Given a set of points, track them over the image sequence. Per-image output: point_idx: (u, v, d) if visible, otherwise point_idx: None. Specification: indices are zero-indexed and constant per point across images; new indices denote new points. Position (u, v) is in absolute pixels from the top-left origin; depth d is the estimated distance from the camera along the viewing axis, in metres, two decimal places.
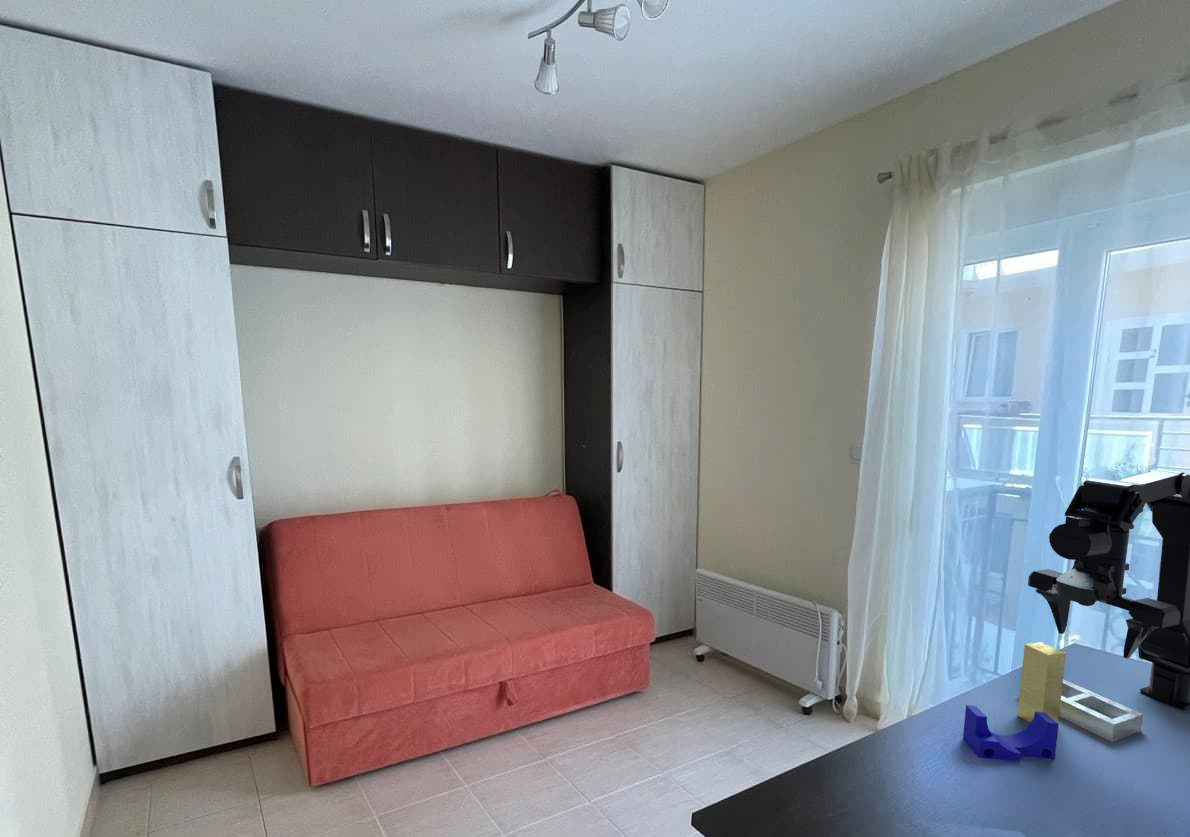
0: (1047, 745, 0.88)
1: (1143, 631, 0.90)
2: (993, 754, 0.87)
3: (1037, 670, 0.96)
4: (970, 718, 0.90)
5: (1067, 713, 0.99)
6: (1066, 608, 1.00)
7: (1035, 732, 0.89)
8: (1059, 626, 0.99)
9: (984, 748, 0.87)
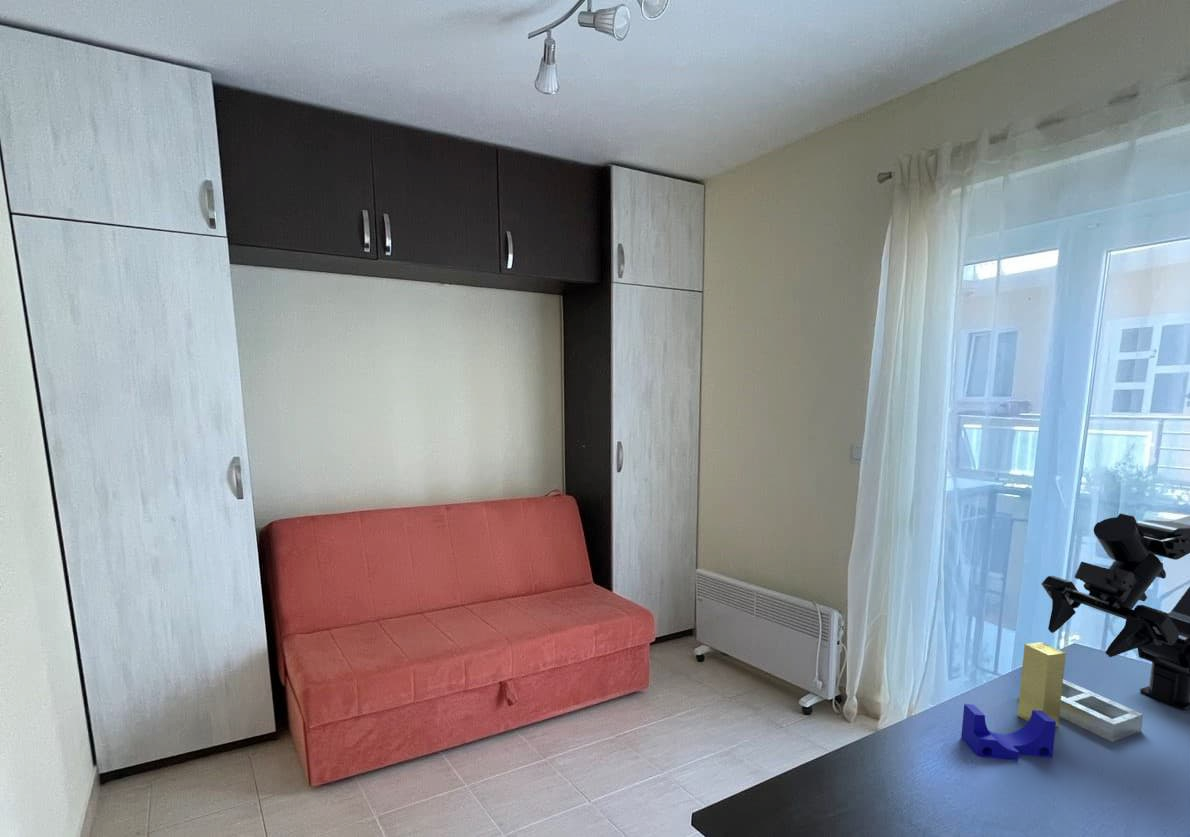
0: (1045, 743, 0.88)
1: (1135, 640, 0.95)
2: (991, 753, 0.87)
3: (1037, 670, 0.96)
4: (968, 717, 0.90)
5: (1067, 713, 0.99)
6: (1065, 617, 1.05)
7: (1032, 730, 0.89)
8: (1052, 623, 1.04)
9: (982, 747, 0.87)
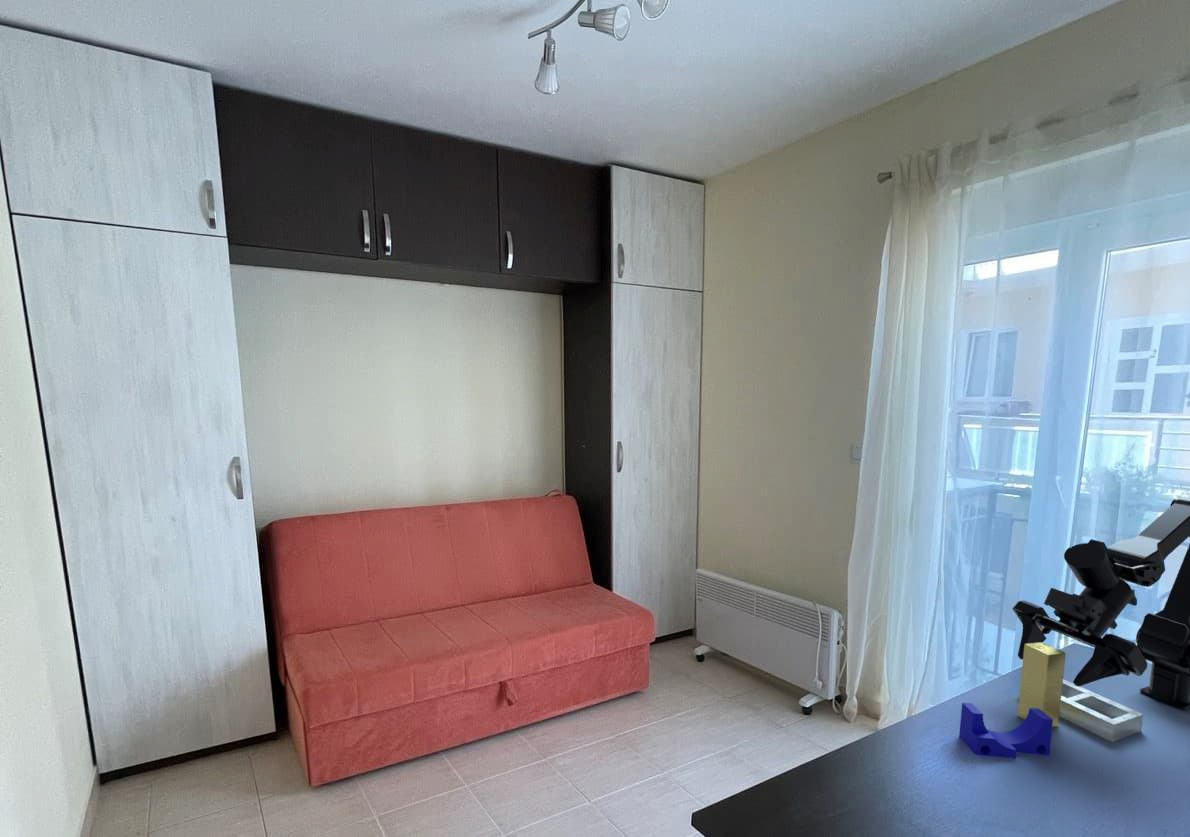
0: (1042, 741, 0.89)
1: (1103, 670, 0.93)
2: (989, 751, 0.88)
3: (1037, 670, 0.96)
4: (966, 715, 0.91)
5: (1067, 713, 0.99)
6: None
7: (1030, 728, 0.90)
8: (1022, 649, 1.02)
9: (981, 745, 0.88)
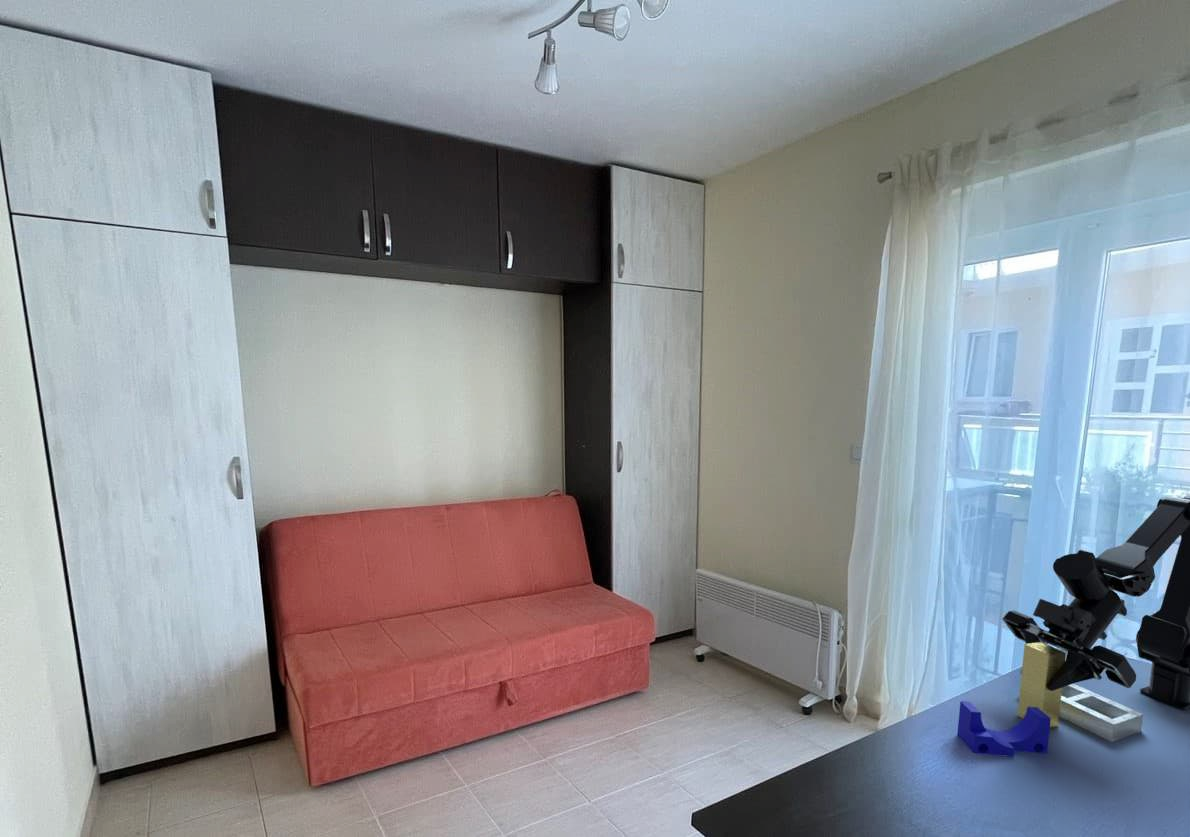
0: (1040, 739, 0.89)
1: (1076, 674, 0.95)
2: (987, 749, 0.88)
3: (1037, 670, 0.96)
4: (964, 714, 0.91)
5: (1067, 713, 0.99)
6: None
7: (1028, 727, 0.90)
8: None
9: (979, 743, 0.88)
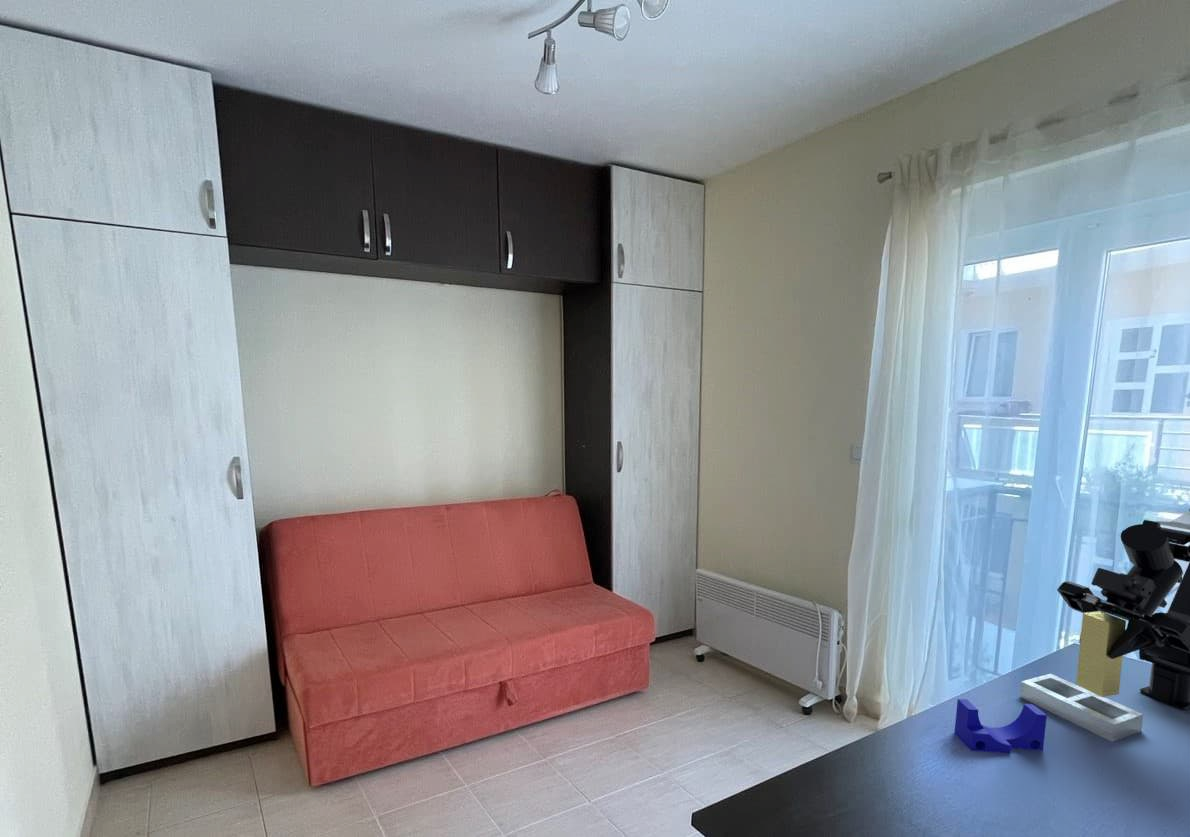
0: (1036, 736, 0.90)
1: (1137, 642, 0.95)
2: (984, 746, 0.89)
3: (1097, 639, 0.96)
4: (962, 711, 0.92)
5: (1067, 713, 0.99)
6: None
7: (1024, 724, 0.91)
8: None
9: (976, 741, 0.89)
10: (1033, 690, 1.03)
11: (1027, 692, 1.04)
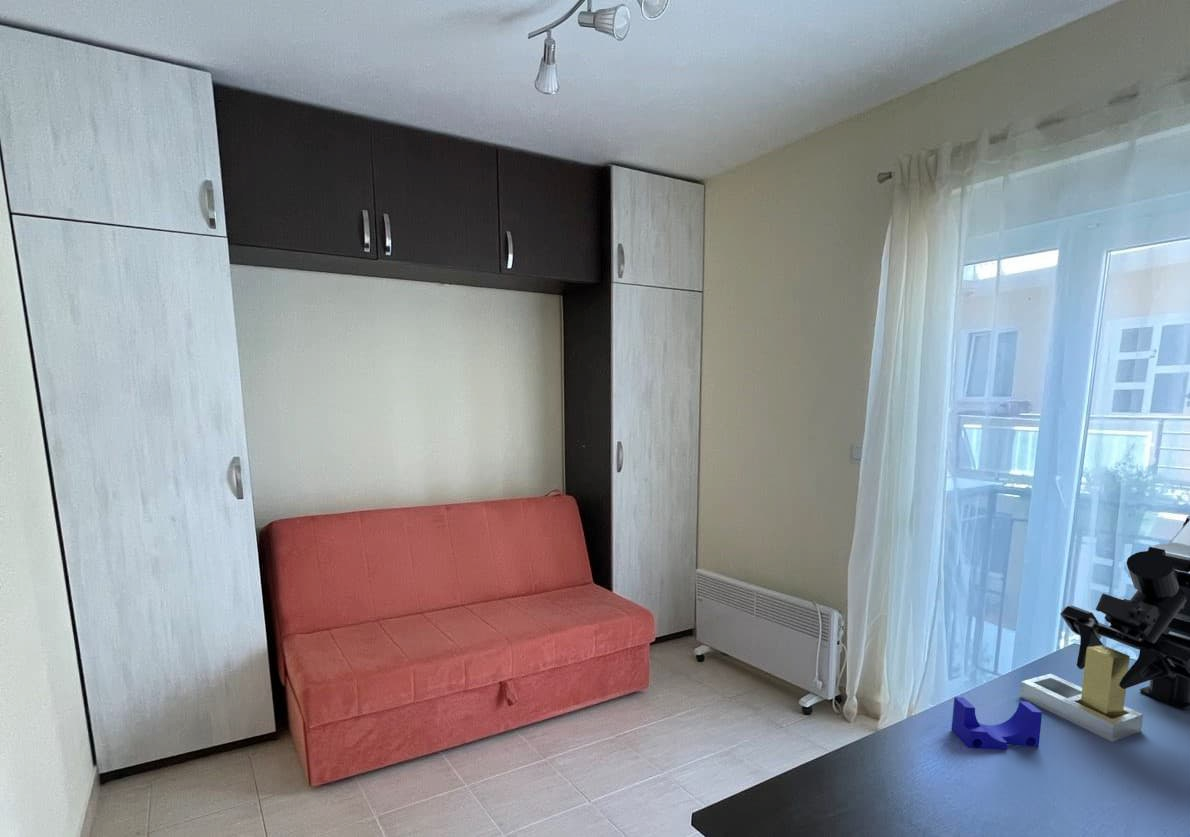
0: (1032, 733, 0.90)
1: (1149, 672, 0.94)
2: (981, 744, 0.90)
3: (1101, 673, 0.96)
4: (959, 709, 0.92)
5: (1067, 713, 0.99)
6: None
7: (1020, 721, 0.92)
8: (1081, 659, 1.00)
9: (973, 738, 0.89)
10: (1033, 690, 1.03)
11: (1027, 692, 1.04)
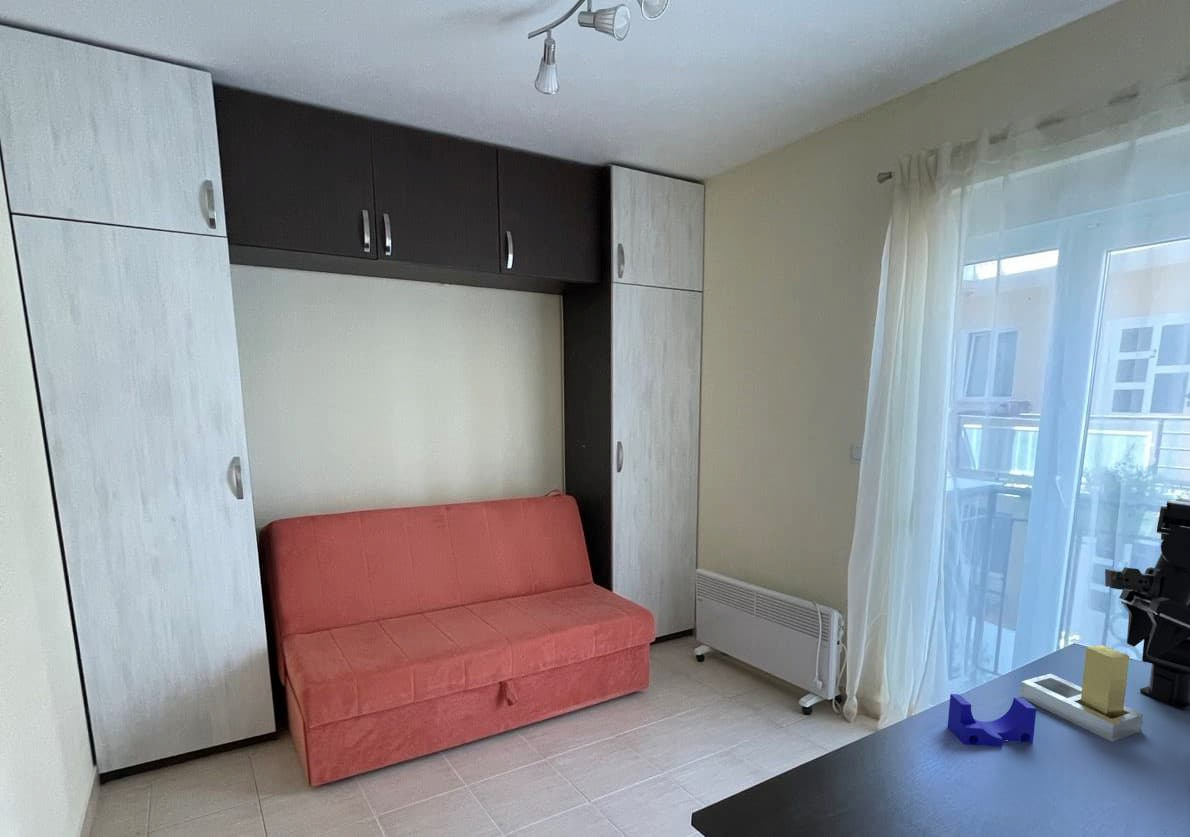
0: (1026, 729, 0.92)
1: (1173, 634, 0.95)
2: (977, 740, 0.90)
3: (1100, 673, 0.96)
4: (955, 706, 0.93)
5: (1067, 713, 0.99)
6: (1147, 627, 1.04)
7: (1014, 717, 0.93)
8: (1128, 636, 1.05)
9: (969, 735, 0.90)
10: (1033, 690, 1.03)
11: (1027, 692, 1.04)
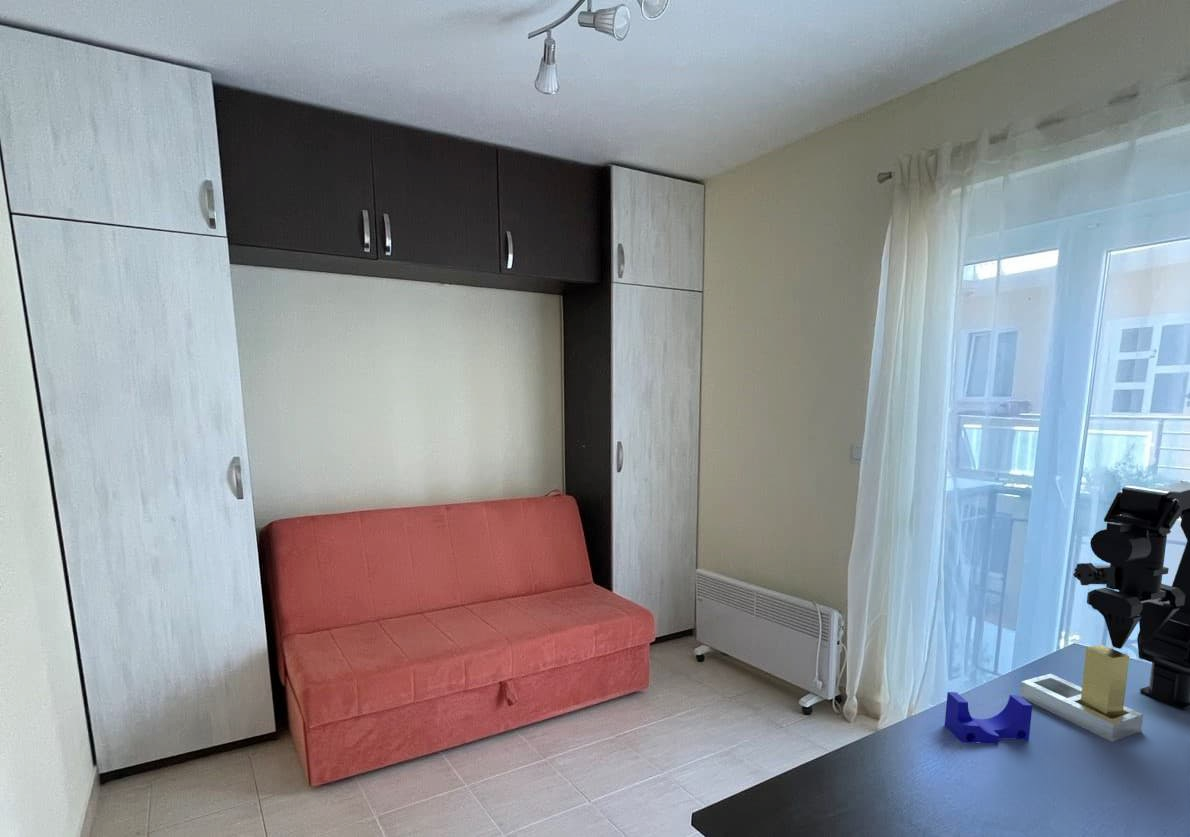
0: (1022, 726, 0.92)
1: (1122, 624, 0.97)
2: (974, 738, 0.91)
3: (1100, 673, 0.96)
4: (952, 704, 0.94)
5: (1067, 713, 0.99)
6: (1155, 619, 1.01)
7: (1010, 714, 0.94)
8: (1140, 631, 1.03)
9: (966, 732, 0.91)
10: (1033, 690, 1.03)
11: (1027, 692, 1.04)
